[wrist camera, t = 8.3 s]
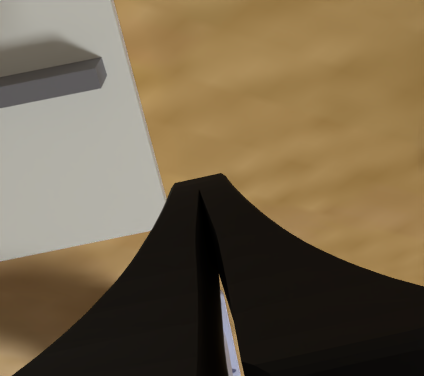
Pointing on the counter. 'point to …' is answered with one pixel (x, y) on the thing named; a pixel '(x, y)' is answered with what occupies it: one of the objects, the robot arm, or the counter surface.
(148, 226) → the rail board
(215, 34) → the counter surface
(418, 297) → the robot arm
